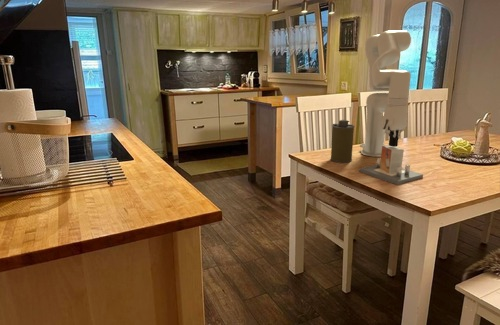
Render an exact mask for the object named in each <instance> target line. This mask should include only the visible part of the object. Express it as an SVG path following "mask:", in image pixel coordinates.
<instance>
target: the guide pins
mask: <svg viewBox="0 0 500 325" xmlns="http://www.w3.org/2000/svg"><path fill="white" fill-rule="evenodd" d="M376 159H377V160H376V164H377V168H380V161H381V157H380V158H379V157H377V158H376ZM404 167H405V168H404V169H405V173H404V174H405V175H409V171H411V165H410V164H405V166H404ZM402 168H403V167H400V166H399V167H397V175H396V176H397V177H401V173H402Z"/></svg>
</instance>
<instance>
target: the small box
mask: <svg viewBox="0 0 500 325" xmlns="http://www.w3.org/2000/svg"><path fill="white" fill-rule="evenodd" d="M404 152H405V149H404V148H401V147H399V146H396V147H393V146H389V144H386V145H385V144H384V145H382V152H381V157H380V159H381V161H380V168H381V169H383V170H384V171H386V172H387V173H388V174H392V173H397V167H399V166H400V167H402V165H403V159H404V158H403V157H404ZM402 168H403V167H402Z"/></svg>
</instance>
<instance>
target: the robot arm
mask: <svg viewBox="0 0 500 325" xmlns="http://www.w3.org/2000/svg"><path fill="white" fill-rule="evenodd" d="M411 43H412V36H411V34H410V32H409V31H408V30H385V31H382V32H380V34H372V35H370V36H369V37H368V38H366V40H365V56H366V58H367V62H368V66H369V68H368V69H369V70H368V72H369V81H368V82H369V85H368V86H369V88H370V90H371V91H374V92H375V93H370V94H369V95H368V96H367V97H366V102H365V103H366V104H365V105H366V126H365V137H364V142H362V143H361V144H360V145H359V148H362V150H361V151H360V154H362V155H363V156H365V157H373V158H379V157H380V158H381V152H382V145H385V138H386V134H387V135H388V137H389V139H388V145H389V146H393V147H396V146H397V147H399V137H400V136H401V133H402V132H404V131H405V129H406V128H407V125H408V117H409V116H408V114H409V112H408V111H409V110H408V104H409V95H410V85H411V78H412V77H411V75H412V74H411V72H410V71H408V70H406V69H388V67H390V66H392V65H394V64H395V63H397V62H398V61H399V60H400V58H401V52H403V51H407V50H408V49H409V48H410V47H411Z"/></svg>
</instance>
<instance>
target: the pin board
mask: <svg viewBox="0 0 500 325" xmlns="http://www.w3.org/2000/svg"><path fill="white" fill-rule="evenodd" d="M358 172H359V173H363V174H365V175H367V176H371V177H373V178H376V179H379V180H382V181H385V182H387V183H390V184H394V185H396V186H398V185H401V184H405V183H409V182H412V181H416V180H420V179H423V178H424V174H423V173H420V172H416V171H413V170H410V171H409V175H405V174H404V173H405V168H403V167H402V173H401V177H397V176H396V175H397V173H392V174H388V173H387V172H386V171H384V170H383V169H381V168H377V163H376V164H372V165H369V166H368V165H367V166H364V167H359V169H358Z"/></svg>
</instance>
